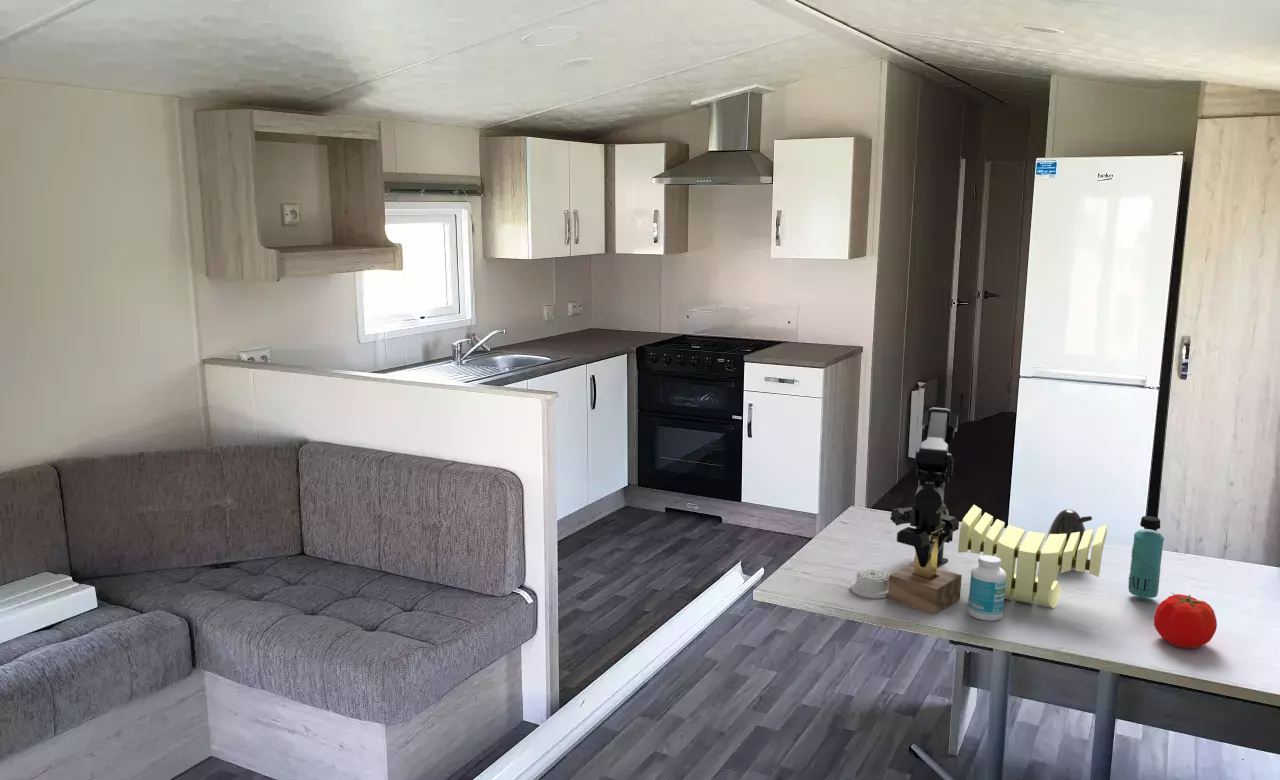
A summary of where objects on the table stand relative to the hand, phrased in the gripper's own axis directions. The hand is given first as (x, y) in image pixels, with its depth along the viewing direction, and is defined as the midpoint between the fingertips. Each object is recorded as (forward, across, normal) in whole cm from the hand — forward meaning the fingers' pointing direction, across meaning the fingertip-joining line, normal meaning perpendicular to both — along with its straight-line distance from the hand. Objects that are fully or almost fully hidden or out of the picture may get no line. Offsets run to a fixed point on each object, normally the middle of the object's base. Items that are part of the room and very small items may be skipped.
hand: (926, 565), depth 225 cm
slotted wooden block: (+8, 0, 0) cm, 8 cm away
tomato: (+9, -18, +50) cm, 54 cm away
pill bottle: (+9, -2, +14) cm, 17 cm away
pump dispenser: (+9, -45, +15) cm, 48 cm away
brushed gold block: (+3, 0, 0) cm, 3 cm away
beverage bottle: (+9, -37, +36) cm, 52 cm away
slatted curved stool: (+9, -20, +16) cm, 27 cm away
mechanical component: (+9, +4, -11) cm, 15 cm away
